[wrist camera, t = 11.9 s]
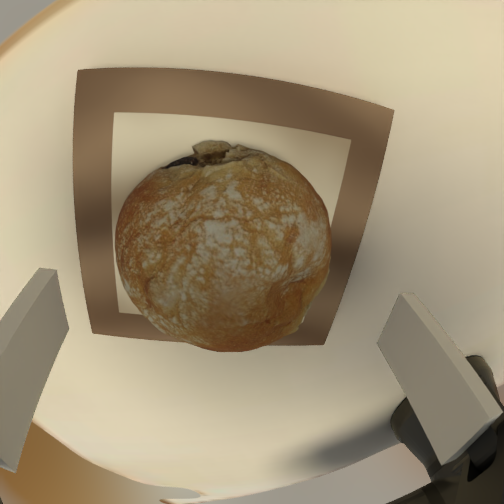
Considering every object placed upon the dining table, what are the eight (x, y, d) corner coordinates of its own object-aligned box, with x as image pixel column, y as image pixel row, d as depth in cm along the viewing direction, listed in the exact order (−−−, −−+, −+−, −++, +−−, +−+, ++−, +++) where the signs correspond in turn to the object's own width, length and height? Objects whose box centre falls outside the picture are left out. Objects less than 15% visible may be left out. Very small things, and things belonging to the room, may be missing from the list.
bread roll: (279, 133, 18) (285, 73, 10) (346, 294, 18) (396, 341, 10) (130, 202, 18) (51, 193, 11) (197, 353, 19) (157, 425, 11)
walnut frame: (318, 331, 23) (324, 345, 21) (97, 319, 20) (92, 334, 19) (381, 107, 16) (395, 110, 14) (88, 71, 13) (76, 69, 11)
